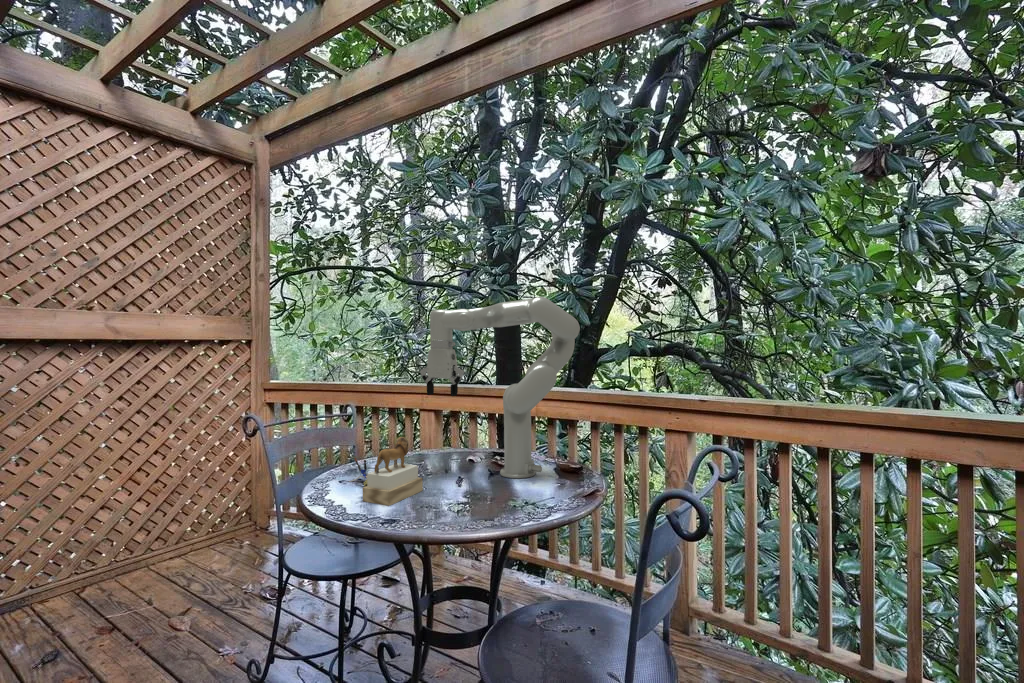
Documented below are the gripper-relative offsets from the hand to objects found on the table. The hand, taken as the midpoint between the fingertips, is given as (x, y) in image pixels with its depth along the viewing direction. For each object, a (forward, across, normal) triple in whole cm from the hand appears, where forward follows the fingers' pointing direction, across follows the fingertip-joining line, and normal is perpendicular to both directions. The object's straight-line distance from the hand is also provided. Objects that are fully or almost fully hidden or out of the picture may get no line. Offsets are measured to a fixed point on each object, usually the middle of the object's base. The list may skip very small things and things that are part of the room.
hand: (442, 395), depth 178 cm
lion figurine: (+20, +3, +24) cm, 31 cm away
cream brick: (+24, +2, +24) cm, 34 cm away
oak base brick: (+28, +2, +24) cm, 37 cm away
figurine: (+29, +22, +16) cm, 39 cm away
